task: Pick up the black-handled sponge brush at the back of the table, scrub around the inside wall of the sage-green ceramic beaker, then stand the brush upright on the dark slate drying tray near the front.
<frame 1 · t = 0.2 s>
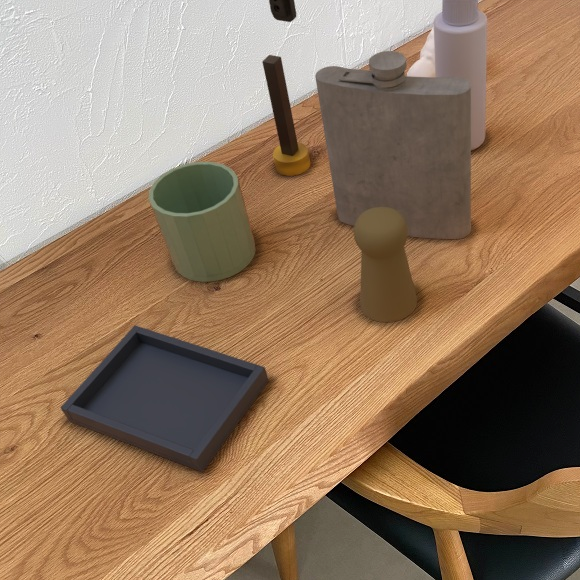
tray: (169, 400, 77), on the table
spray bottle: (461, 141, 101), on the table
brush: (293, 165, 100), on the table
peg doll figure: (388, 303, 84), on the table
hip flask: (402, 226, 92), on the table
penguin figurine: (440, 84, 111), on the table
beaker: (214, 253, 90), on the table
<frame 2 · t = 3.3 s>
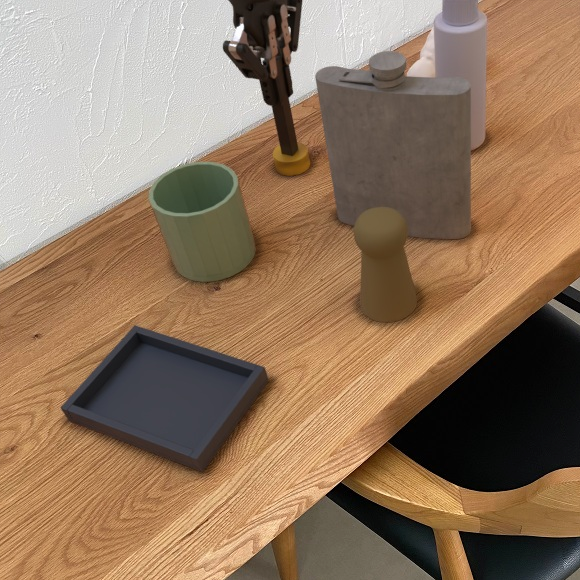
hand: (279, 99, 93), 9 cm above the table, tool pointing down, fingers closed on brush
brush: (293, 165, 100), on the table, touching gripper
everything else where it was.
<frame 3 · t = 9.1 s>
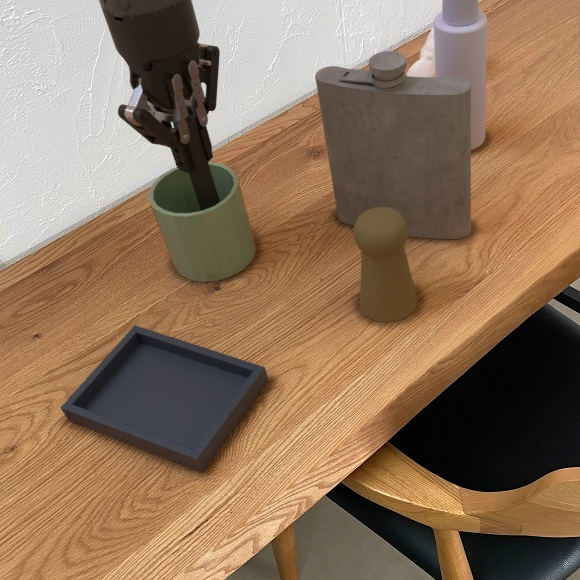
hand: (196, 164, 81), 12 cm above the table, tool pointing down, fingers closed on brush
brush: (219, 234, 88), point 3 cm above the table, touching gripper
everything else where it was.
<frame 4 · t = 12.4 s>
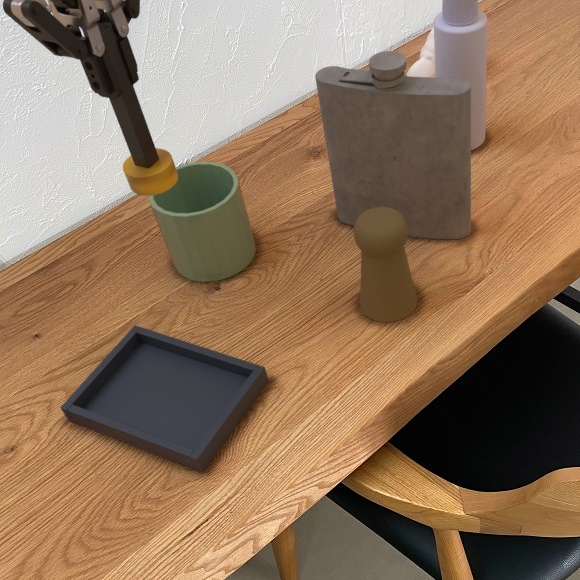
hand: (118, 88, 65), 25 cm above the table, tool pointing down, fingers closed on brush
brush: (154, 181, 72), point 16 cm above the table, touching gripper
everything else where it was.
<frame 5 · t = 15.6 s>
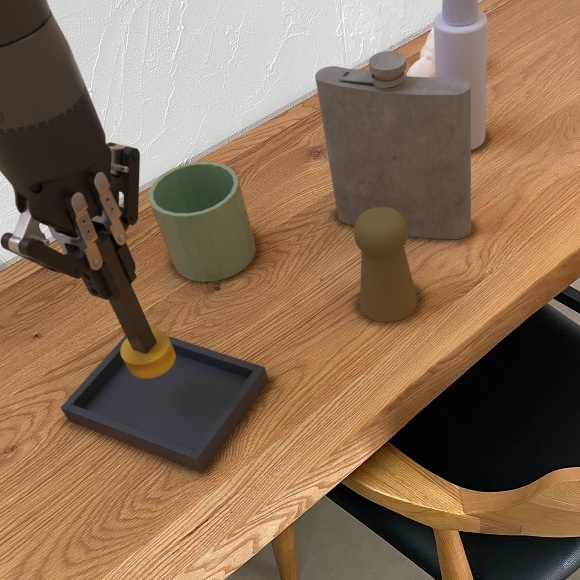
hand: (116, 287, 65), 15 cm above the table, tool pointing down, fingers closed on brush
brush: (151, 360, 72), point 6 cm above the table, touching gripper
everything else where it was.
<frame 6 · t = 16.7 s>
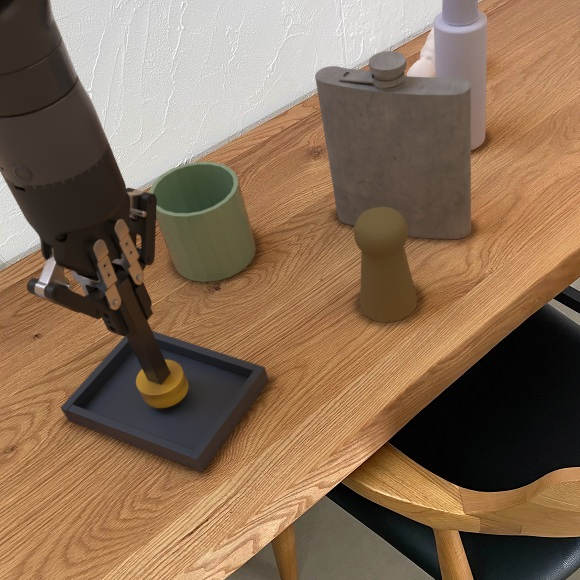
hand: (133, 323, 69), 11 cm above the table, tool pointing down, fingers closed on brush
brush: (165, 390, 76), point 2 cm above the table, touching gripper
everything else where it was.
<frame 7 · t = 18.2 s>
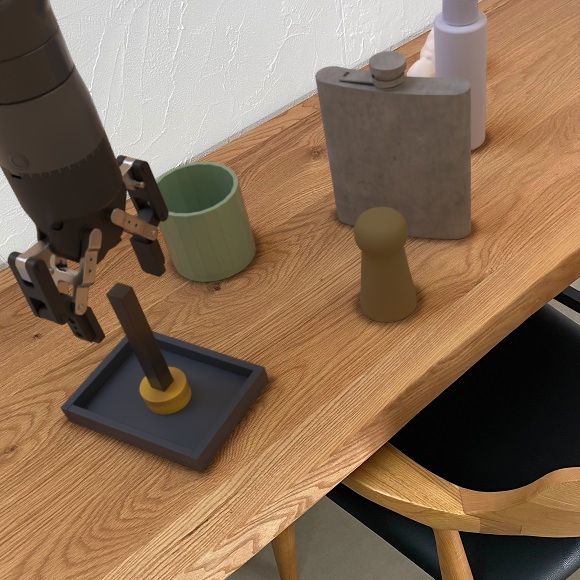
hand: (125, 304, 68), 12 cm above the table, tool pointing down, fingers open, 8 cm apart
brush: (168, 397, 76), point 1 cm above the table, touching tray
everything else where it was.
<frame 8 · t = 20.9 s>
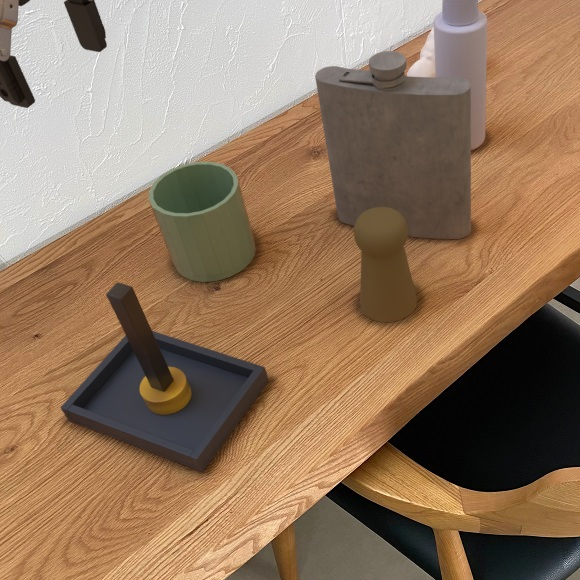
hand: (60, 75, 62), 28 cm above the table, tool pointing down, fingers open, 8 cm apart
nothing on the table moved.
at the end: brush inside the target area in the tray (0.1 cm from its centre), point 0.6 cm above the tray's base; brush tilted 0°; the gripper is holding nothing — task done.
